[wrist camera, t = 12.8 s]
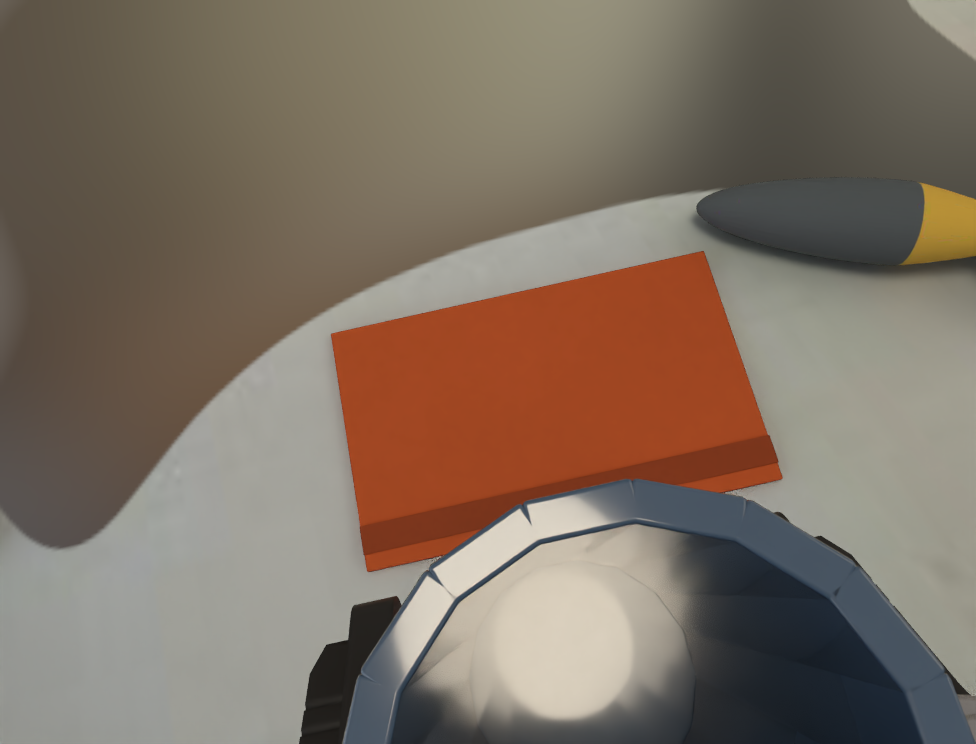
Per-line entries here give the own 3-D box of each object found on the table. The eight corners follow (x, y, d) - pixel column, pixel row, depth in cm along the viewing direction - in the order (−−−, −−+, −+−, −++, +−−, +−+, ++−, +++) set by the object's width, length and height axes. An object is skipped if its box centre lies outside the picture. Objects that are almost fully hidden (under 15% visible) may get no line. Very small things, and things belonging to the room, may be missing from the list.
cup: (666, 520, 16) (856, 427, 7) (743, 787, 15) (1141, 1164, 5) (433, 572, 16) (296, 549, 7) (481, 844, 15) (387, 1331, 5)
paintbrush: (689, 290, 32) (717, 238, 27) (690, 197, 34) (717, 133, 29) (1142, 321, 30) (1256, 272, 26) (1123, 222, 32) (1227, 158, 27)
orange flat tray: (701, 254, 33) (704, 249, 32) (780, 479, 29) (784, 477, 29) (332, 336, 32) (329, 332, 32) (369, 572, 29) (366, 571, 29)
